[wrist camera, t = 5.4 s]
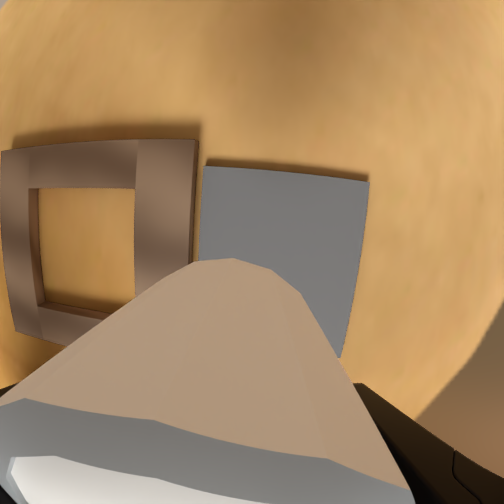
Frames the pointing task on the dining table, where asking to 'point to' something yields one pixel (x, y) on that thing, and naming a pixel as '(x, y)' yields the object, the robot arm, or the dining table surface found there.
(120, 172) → the board
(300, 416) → the white cup
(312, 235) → the rubber mat
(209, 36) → the dining table surface
